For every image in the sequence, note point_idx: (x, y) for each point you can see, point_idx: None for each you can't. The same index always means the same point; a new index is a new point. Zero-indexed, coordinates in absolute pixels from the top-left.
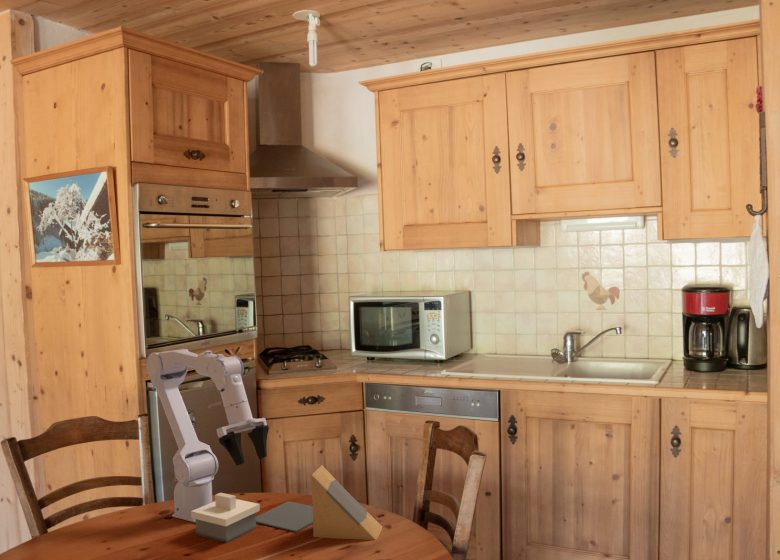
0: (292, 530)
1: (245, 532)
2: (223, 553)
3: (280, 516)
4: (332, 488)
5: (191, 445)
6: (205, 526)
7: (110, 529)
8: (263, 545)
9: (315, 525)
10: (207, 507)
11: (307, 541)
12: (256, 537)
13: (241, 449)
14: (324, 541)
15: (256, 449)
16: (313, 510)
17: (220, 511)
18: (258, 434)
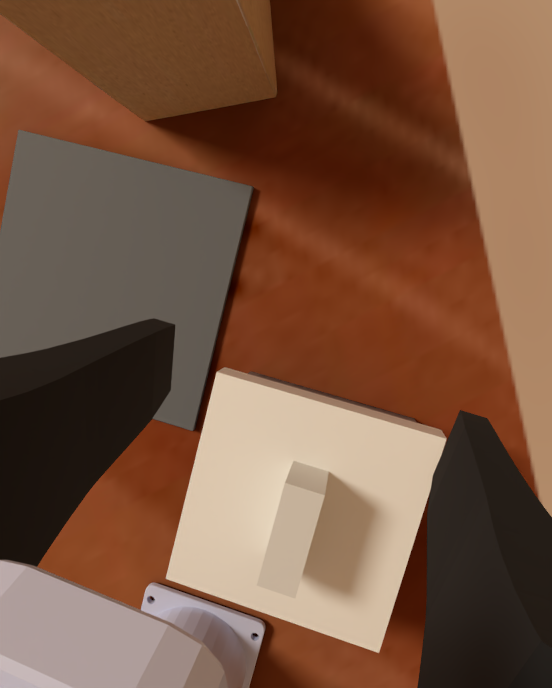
0: (247, 207)
1: (310, 389)
2: (514, 381)
3: (130, 322)
4: None
5: None
6: None
7: None
8: (405, 259)
9: (269, 64)
10: (316, 598)
11: (327, 98)
12: (337, 326)
13: (494, 488)
14: (311, 27)
15: (117, 447)
16: (255, 40)
17: (350, 514)
18: (2, 479)
